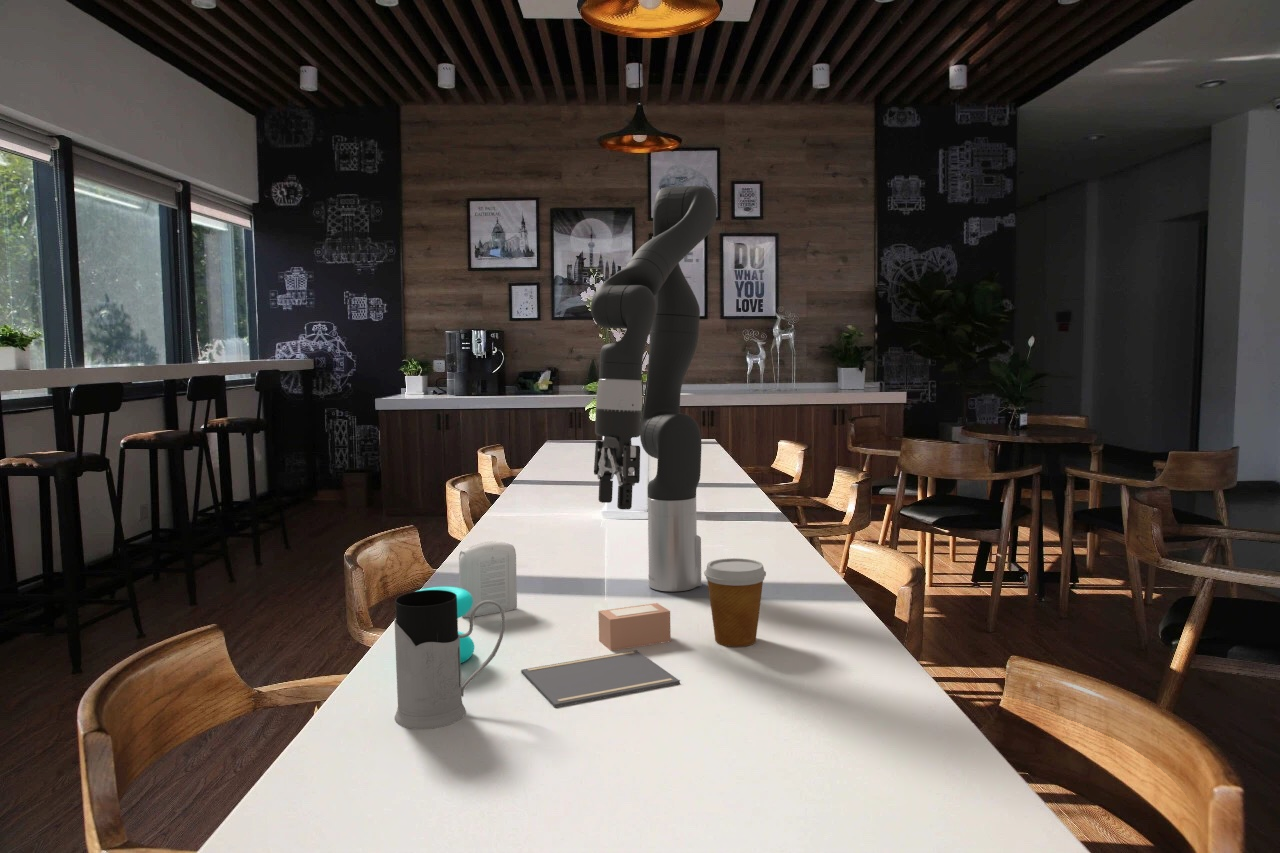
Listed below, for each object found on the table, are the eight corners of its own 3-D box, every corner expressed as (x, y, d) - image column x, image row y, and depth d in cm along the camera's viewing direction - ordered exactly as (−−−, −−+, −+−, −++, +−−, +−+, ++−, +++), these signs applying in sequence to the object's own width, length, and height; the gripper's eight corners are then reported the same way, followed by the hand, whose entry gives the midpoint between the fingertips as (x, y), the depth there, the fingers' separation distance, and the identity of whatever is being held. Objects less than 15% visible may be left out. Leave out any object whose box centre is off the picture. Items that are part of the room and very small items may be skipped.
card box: (657, 633, 146) (656, 602, 145) (670, 642, 141) (670, 610, 141) (599, 642, 142) (598, 610, 141) (610, 651, 137) (610, 619, 137)
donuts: (428, 582, 140) (485, 587, 137) (430, 645, 141) (487, 651, 138) (389, 599, 131) (449, 605, 127) (391, 666, 132) (451, 674, 128)
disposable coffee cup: (771, 633, 144) (771, 559, 143) (759, 653, 135) (759, 574, 134) (713, 628, 147) (712, 555, 146) (697, 647, 138) (696, 570, 137)
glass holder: (390, 707, 117) (385, 593, 115) (499, 690, 122) (495, 581, 121) (399, 733, 109) (394, 611, 107) (515, 714, 114) (511, 597, 113)
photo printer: (510, 604, 163) (508, 536, 162) (521, 609, 159) (519, 540, 158) (456, 614, 157) (454, 544, 156) (466, 620, 154) (463, 548, 152)
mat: (636, 652, 136) (636, 649, 136) (679, 683, 123) (679, 679, 123) (521, 672, 128) (521, 669, 128) (554, 707, 116) (554, 703, 116)
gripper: (657, 409, 144) (652, 511, 145) (623, 406, 157) (619, 500, 158) (613, 408, 141) (609, 512, 142) (582, 405, 154) (578, 500, 155)
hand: (614, 505), depth 150 cm, fingers open, 8 cm apart
